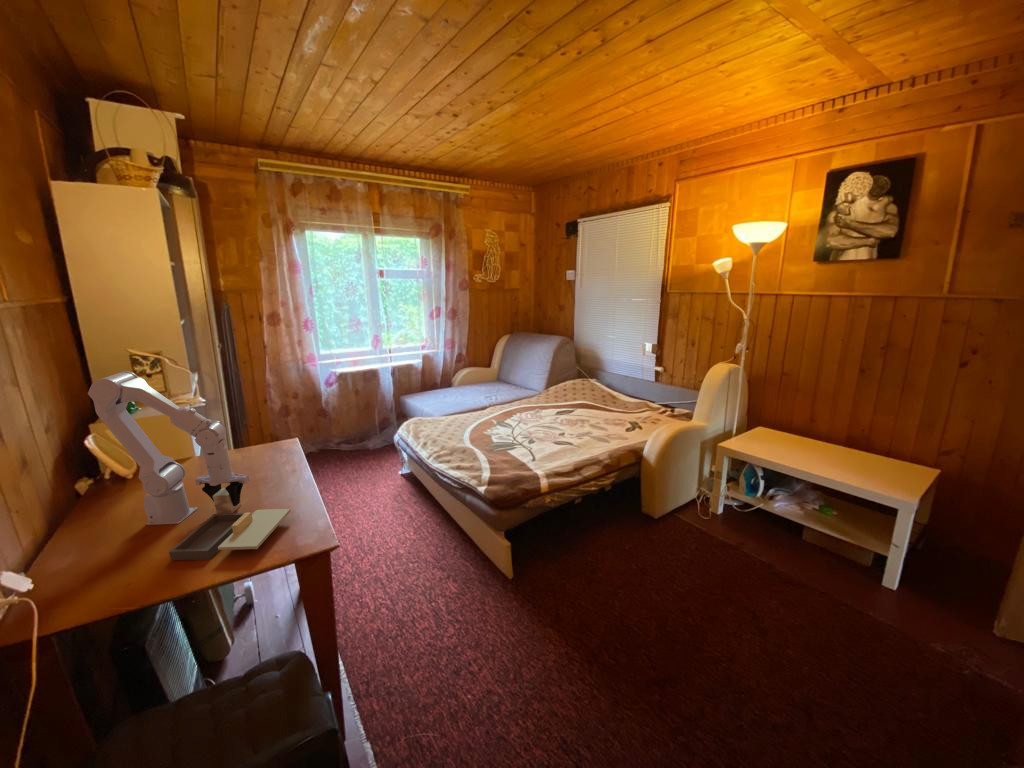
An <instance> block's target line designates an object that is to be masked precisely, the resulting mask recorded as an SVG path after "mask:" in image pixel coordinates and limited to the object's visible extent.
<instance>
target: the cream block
mask: <svg viewBox="0 0 1024 768" xmlns="http://www.w3.org/2000/svg"><path fill="white" fill-rule="evenodd" d="M225 488H226V487H221V490H219V491H218V492H217V493H216V494H214V495H213V500H214V502H213V503H214V507H215V512H216V514H223V513H235V512H236V511H237V510H238V509H239V508H240V507H241V506H242V501H241V500H240V503H239V504H238V505H237V506H233V504H232V501H231V497H230V495H229V493H228V492H227V490H226V489H225ZM213 500H212V501H213Z"/></svg>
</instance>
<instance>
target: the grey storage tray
mask: <svg viewBox="0 0 1024 768" xmlns="http://www.w3.org/2000/svg"><path fill="white" fill-rule="evenodd" d="M244 513H245V512H233V513H223V514H217V513H213V514H212V515H211V516H210V517H208V518H207V519H206V520H205V521H203V522H202V523H201V524H200V525H199V526H198V527H196V528H195V529H194V530H193V531H192V532H190V533H189V534H188V535H187V536H186V537H184V538H183V539H182V540H181V541H180V542H178V544H176V545H175V546H174V547H172V548H171V549H170V550H169V551H168V554H169V557H170V561H194V560H195V561H197V560H198V561H201V560H210V559H211V560H212V558H213V557H214V556H215V554H217V552H219V551H220V550H218V546H219V545H221V544H222V543H223V542H224V541H225V540H226V539H227V538H228V537H229V536H230V535H231V534H232V533H233V530H232V525H233V524H234V523H235V522H236V521H237V520H238V519H239V518H240V517H241V516H242V515H243V514H244Z"/></svg>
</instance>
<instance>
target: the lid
mask: <svg viewBox="0 0 1024 768" xmlns="http://www.w3.org/2000/svg"><path fill="white" fill-rule="evenodd" d="M243 513H244V514H243V515H242V516H241V517H240V518H239V519H238V520H237V521H236V522H235V523H234V524H233V525H232V530H233V533H232V534H231V535H230V536H229V537H228V538H227V539H226V540H225V541H224V542H223V543H222V544H221V545H219V546H218V550H219V551H225V550H226V551H227V550H228V551H229V550H230V551H231V550H233V551H235V550H236V551H237V550H258V549H259V548H260V546H262V544H263V543H264V542H265V541H266V540H267V538H268V537H270V535H271V534H272V533H273V532H274V531H275V530H276V528H277V527H279V525H280V524H281V523H282V522H283V521H284V519H285V518H287V516H288V515H290V513H291V508H275V509H274V508H273V509H272V508H271V509H270V508H269V509H256V510H254V512H248V511H247V512H243Z"/></svg>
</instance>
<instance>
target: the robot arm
mask: <svg viewBox="0 0 1024 768" xmlns="http://www.w3.org/2000/svg"><path fill="white" fill-rule="evenodd" d="M87 395H88V396H89V398H90V399H92V401H93V406H94V410H95V413H96V415H97V416H98V418H99V419H100V420H101V422H102V423H104V425H105V426H106V427H107V429H108V430H109V431H110V432H111V434H112V435H113V436H114V437H115V438H116V439H117V440H118V442H119V443H120V444H121V446H122V447H123V448H124V450H125V451H126V452H127V453H128V454H129V455H130V456H131V458H132V459H133V460H134V462H135V463H136V464H137V465H138V466H139V473H138V479H139V480H140V481H141V482H142V483H141V484H142V488H143V490H144V491H145V495H144V496H143V501H142V502H143V508H144V512H145V514H146V518H147V522H146V523H145V524H146V525H147V526H153V525H178V524H181V523H182V522H183V521H184V520H186V519H187V518H188V517H189V516H191V515H192V514H193V513H195V512H196V511H197V510H198V509H199V508H198V507H196V506H195V507H190V506H189V504H190V503H189V499H188V497H187V493H186V491H185V490H186V489H185V485H184V480H183V479H184V477H185V476H186V470H185V467H184V466H183V465H182V464H180V463H178V462H176V461H175V460H174V459H173V457H171V456H169V455H168V456H166V455H164V454H162V453H161V452H160V450H159V449H158V448H157V446H155V444H154V443H153V441H152V440H151V439H150V438H149V437H148V435H147V434H146V433H145V431H144V430H143V429H142V428H141V426H140V425H139V424H138V422H136V420H135V419H134V418H133V416H132V415H131V414H130V412H128V410H127V406H128V405H129V403H130V402H131V403H132V402H139V403H142V404H144V405H145V406H147V407H149V408H152V409H154V410H156V411H157V412H159V413H161V414H163V415H164V416H166V417H169V420H170V424H172V425H173V426H175V427H177V428H179V429H180V430H182V431H183V432H185V433H187V434H188V435H190V436H192V437H194V441H195V444H196V445H198V446H199V447H201V448H200V449H201V450H202V453H203V458H204V462H205V465H206V469H207V475H199V476H197V477H196V478H195V479H194V480H195V481H194V482H195V485H196V486H201V485H203V484H204V486H203V487H202V488H201V490H202V492H204V494H206V495H207V496H208V497H209V498H210V499H211V500H212V502H213V503H214V500H213V495H214V494H216V493H217V492H218V491H219V490H221V489H222V484H228V485H226V486H225V487H224V488H225V489H226V490H227V492H228V493H229V495H230V497H231V501H232V504H233V506H237V505H238V504H239V503H240V501H241V493H242V489H243V486H244V485H245V484H247V483H248V482H249V481H250V478H249V477H250V476H249V474H244V473H243V474H242V473H238V472H237V473H236V472H233V467H232V463H231V459H230V455H229V450H228V447H227V441H226V438H225V437H226V435H227V433H228V429H227V427H226V426H225V424H224V423H222V422H221V421H220V420H212V419H210V418H207V417H205V416H203V415H202V414H200V413H199V412H197V410H196V409H195V408H194V407H191V408H190V407H189V406H182V407H181V406H179V405H177V404H175V402H173V401H171V400H170V399H168V398H167V397H166V396H164V395H163V394H161V393H160V392H158V391H157V390H156V389H154V388H153V387H151V386H150V385H149V384H148V383H147V381H146V380H145V379H144V378H143V377H140V376H138V375H137V374H135V373H134V372H132V371H128V370H122V371H118V372H116V373H114V374H111V375H108V376H106V377H104V378H103V377H102V378H98V379H96V380H94V381H93V382H92V383H91V386H90V388H89V390H88V392H87Z"/></svg>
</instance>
